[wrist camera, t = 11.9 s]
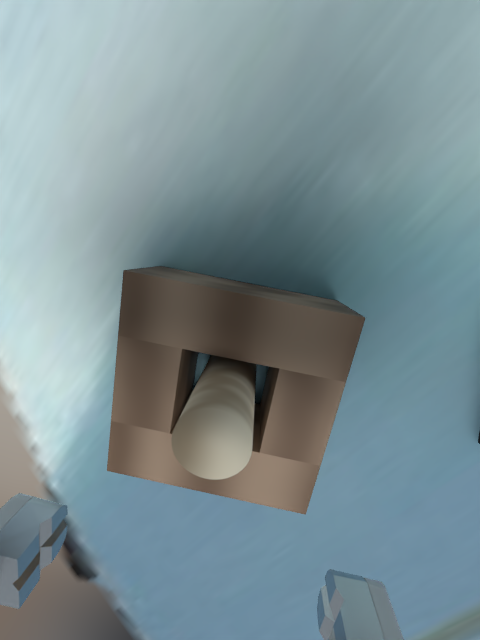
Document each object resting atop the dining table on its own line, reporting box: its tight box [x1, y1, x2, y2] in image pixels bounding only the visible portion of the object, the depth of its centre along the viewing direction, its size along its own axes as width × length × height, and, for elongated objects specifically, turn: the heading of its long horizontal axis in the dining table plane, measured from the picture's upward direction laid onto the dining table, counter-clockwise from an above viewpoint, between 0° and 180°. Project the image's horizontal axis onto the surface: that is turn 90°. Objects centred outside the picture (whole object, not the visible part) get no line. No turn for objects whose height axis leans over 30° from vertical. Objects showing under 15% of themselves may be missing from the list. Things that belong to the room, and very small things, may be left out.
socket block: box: [107, 266, 365, 514], centre depth 20 cm, size 14×14×6 cm
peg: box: [171, 355, 256, 480], centre depth 18 cm, size 4×4×10 cm
